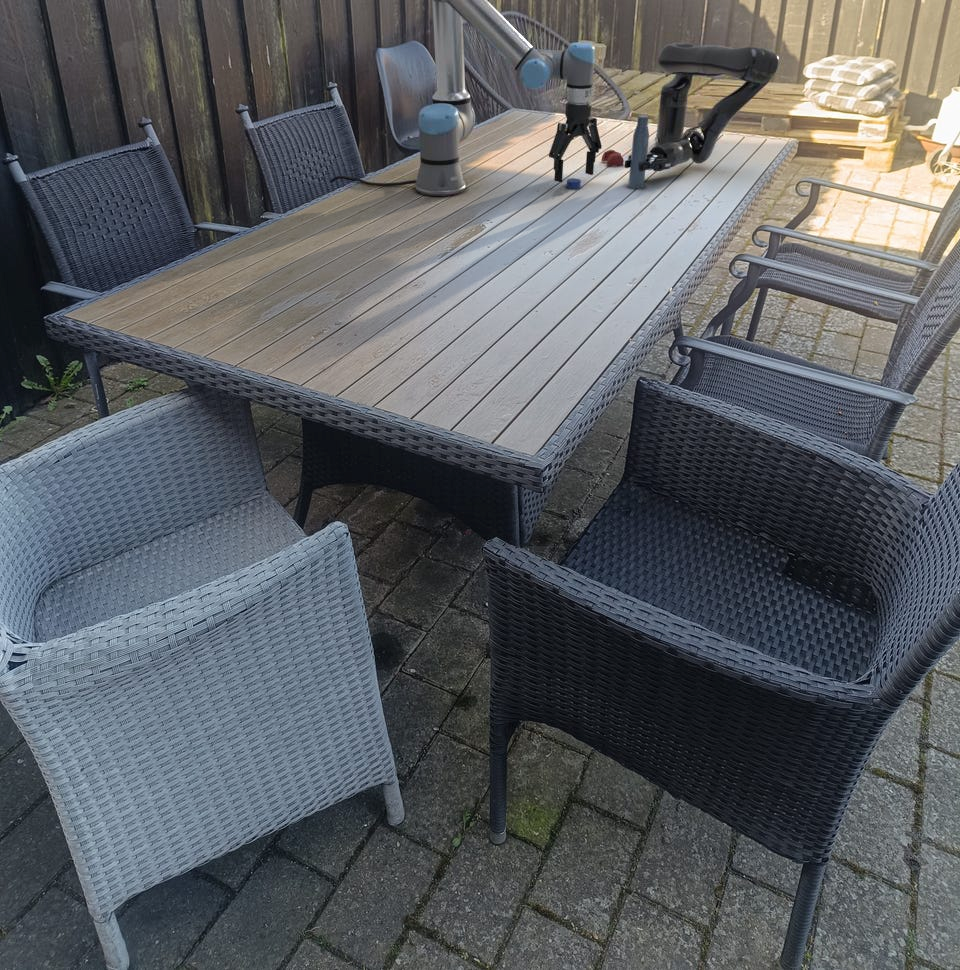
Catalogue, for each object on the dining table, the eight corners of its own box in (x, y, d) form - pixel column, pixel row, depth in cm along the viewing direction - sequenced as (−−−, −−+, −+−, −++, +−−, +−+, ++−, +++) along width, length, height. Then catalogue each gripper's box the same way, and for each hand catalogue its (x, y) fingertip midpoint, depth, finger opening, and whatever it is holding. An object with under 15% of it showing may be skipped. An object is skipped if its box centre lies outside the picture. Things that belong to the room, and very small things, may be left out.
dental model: (616, 146, 283) (625, 152, 277) (615, 159, 286) (624, 165, 280) (600, 148, 282) (609, 154, 276) (600, 161, 285) (608, 167, 279)
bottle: (624, 186, 262) (631, 115, 250) (636, 183, 264) (643, 113, 252) (635, 189, 258) (642, 118, 247) (646, 187, 261) (654, 116, 249)
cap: (583, 187, 260) (583, 181, 259) (571, 189, 258) (572, 183, 257) (575, 184, 263) (575, 177, 262) (563, 186, 261) (564, 179, 260)
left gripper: (555, 110, 238) (552, 187, 251) (617, 99, 250) (610, 173, 263) (538, 105, 243) (535, 181, 256) (599, 95, 255) (594, 168, 268)
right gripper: (649, 139, 267) (615, 149, 258) (686, 147, 259) (653, 158, 249) (646, 163, 272) (613, 174, 262) (683, 173, 263) (650, 183, 254)
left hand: (573, 177), depth 259 cm, fingers open, 12 cm apart
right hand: (632, 166), depth 256 cm, fingers closed on bottle, 4 cm apart
